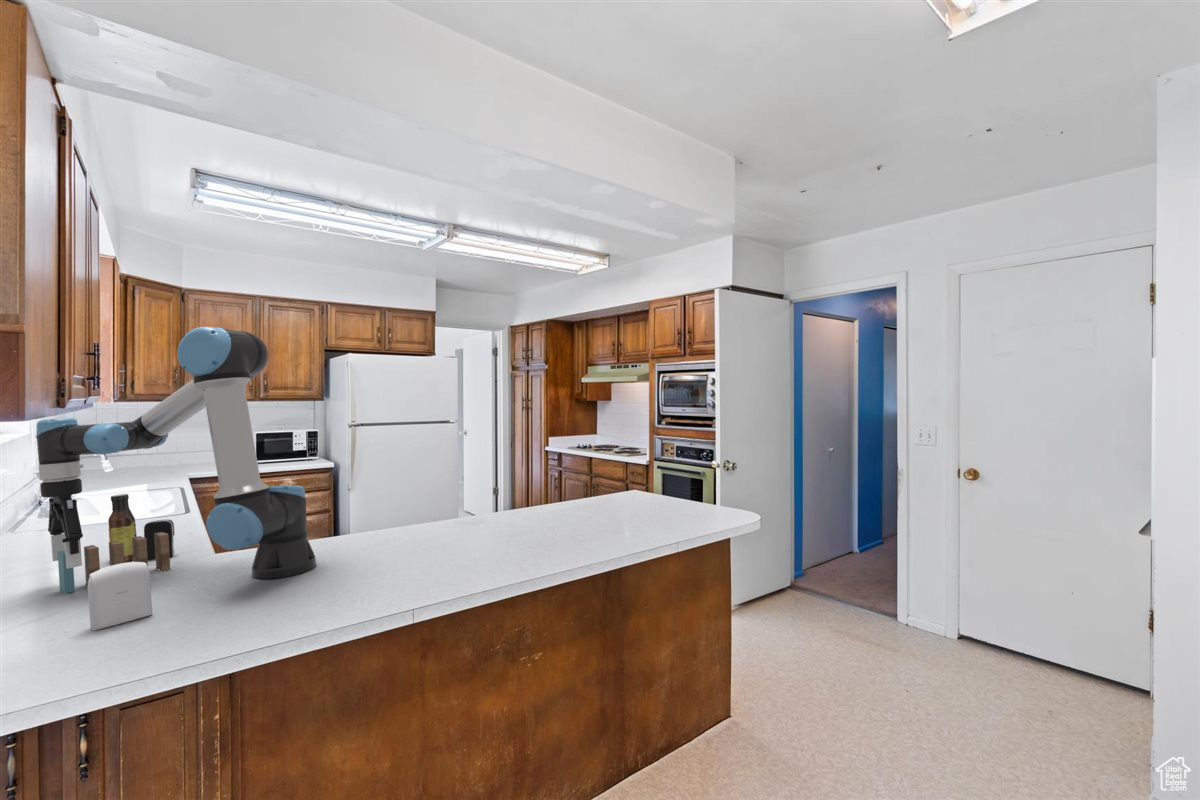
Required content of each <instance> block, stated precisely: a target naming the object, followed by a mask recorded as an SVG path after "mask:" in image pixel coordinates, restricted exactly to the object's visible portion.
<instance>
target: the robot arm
mask: <svg viewBox="0 0 1200 800" xmlns="http://www.w3.org/2000/svg"><path fill="white" fill-rule="evenodd" d="M176 351H177V352H176V353H177V354H176V357H177V360H178V361H177V362H178V364H179V366H180V367H181V368H182V369H184V370H185V372H186V373H188V374H190V375H192V379H191V380H190V381H188V382H187V383H186V384H184V385H183V386H181V387H180V388H178V389H177V390H175V392H173V393H172V394H170V395H169V396H167V397H166V398H165V399H163V400H161V401H160V402H159V403H158V404H156V405H155V406H153V407H152V408H151V409H149V410H147V411H146V412H145V413H143V414H142V415H141V416H139V417H138V418H136V419H134V420H132V421H126V422H123V421H122V422H106V423H103V422H102V423H95V424H93V423H92V424H83V425H79V424H78V419H77V418H74V417H69V418H68V417H66V418H65V417H64V418H48V419H47V418H46V419H40V420H38V421H37V423H36V435H35V439H36V443H37V444H36V445H37V454H38V455H37V456H38V475H39V480H40V481H42V482H41V483H39V484H40V487H39V488H40V496H41V497H42V498H49V499H48V503H49V510H48V527H47V528H48V529H47V531H48V533H49V534H50V542H51V556H52V557H51V558H52V562H56V561H58V552H59V551H64V550H65V554H66V568H67V569H68V568H73V569H74V568H78V567H81V566H83V562H82V561H83V559H82V547H81V538H82V539H83V537H84V534H83V532H82V526H81V522H80V517H79V511H78V501H77V499H73V497H72V495H78V494H81V493H82V492H83V484H82V482H83V481H82V479H81V478H79V477H80V476H81V475H82V473H81V468H84V464H82V463H81V455H102V456H103V455H109V454H115V453H119V452H125V451H126V452H127V451H132V450H147V449H152V448H155V447H160V446H162V445H163V444H164V443H166V441H167V438H169V434H170V433H171V432H172V431H174V429H176V428H177V427H179V426H181V425H182V424H183V423H184V422H186V421H188V420H189V419H191V418H192V417H194V416H195V415H196V414H198V413H199V412H201V411H202V410H203V409H205V410H206V414H207V416H206V417H207V421H208V426H209V427H208V428H209V433H210V437H211V438H210V440H211V445H212V451H213V457H214V462H215V468H216V475H217V478H218V479H217V480H218V481H217V482H218V487H219V489H218V490H217V492H216V493H215V494H214V496H213V500H214V502H213V503H214V508H213V509H211V511H210V512H209V515H208V516H207V517H206V524H205V526H206V530H207V534H208V536H209V537H210V538H211V540H212V541H213V542H214V543H215V545H219V547H221V548H223V549H225V550H231V551H236V550H237V551H238V550H242V549H243V550H244V549H246V548H251V547H253V546H255V545H257V549H256V552H255V556H254V559H253V562H252V565H251V576H252V577H253V578H255V579H260V580H262V579H263V580H269V579H270V580H271V579H273V580H274V579H281V578H286V577H292V576H295V575H299V574H302V573H306V572H308V571H310V570H312V569H314V568H315V567H316V566H317V564H316V560H317V559H316V555H315V552H314V550H313V547H312V546H311V543H310V541H309V539H308V527H307V526H308V523H307V501H306V500H307V496H306V491H305V487H304V486H303V485H299V484H298V485H297V484H296V485H291V484H290V485H271V486H270V485H267V484H266V483H264V482H262V480H261V476H260V469H259V464H258V458H257V451H256V446H255V441H254V435H253V428H252V423H251V417H250V412H249V405H248V399H247V393H246V388H245V387H246V386H247V384H248V383H250V381H252V380H254V378H256V377H257V376H259V375H260V373H262V372H263V371H264V369H265V368H266V366H267V364H268V362H269V357H270V356H269V350H268V347H267V345H266V343H265V342H264V340H262V339H261V338H260V337H259V336H258V335H255V334H254V333H251V332H248V331H243V330H235V329H228V328H222V327H218V326H200V327H199V326H198V327H196V328H194V329H191V330H189V331H188V332H187V333H186V334H185V335H184V337H183V338H182V339H181V340H180V341H179V343H178V346H177V350H176Z"/></svg>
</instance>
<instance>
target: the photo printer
mask: <svg viewBox="0 0 1200 800" xmlns="http://www.w3.org/2000/svg"><path fill="white" fill-rule="evenodd" d="M150 575H151V574H150V569H149V566H148V567H147V564H146V563H145V562H133V561H127V562H124V563H121V564H116V565H112V566H110V565H109V566H106V567H103V568H100V570H98V571H96V572H93V573H92V574H90V575H89V580H88V586H87V597H88V599H87V600H88V610H89V612H88V613H89V624H90V630H92V631H99V630H102V629H105V628H108V627H109V628H110V627H112V626H116V625H120V624H124V623H127V622H131V621H135V620H138V619H141V618H145V617H149V616H151V615H152V614H153V604H152V603H153V601H152V587H151V586H152V585H151V576H150Z"/></svg>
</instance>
